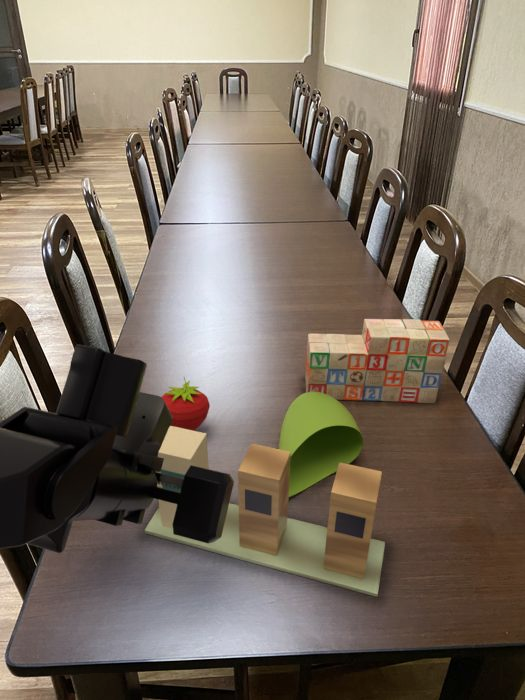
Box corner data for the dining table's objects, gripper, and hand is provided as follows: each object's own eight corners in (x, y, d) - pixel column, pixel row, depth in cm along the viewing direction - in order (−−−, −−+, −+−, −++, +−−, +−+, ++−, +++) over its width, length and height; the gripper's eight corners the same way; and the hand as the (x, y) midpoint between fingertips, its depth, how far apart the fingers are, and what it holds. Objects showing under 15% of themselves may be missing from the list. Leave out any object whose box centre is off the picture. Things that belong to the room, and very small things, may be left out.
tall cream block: (196, 535, 64) (190, 460, 58) (161, 525, 65) (151, 451, 59) (210, 506, 68) (206, 433, 62) (177, 498, 69) (170, 425, 63)
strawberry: (163, 422, 83) (157, 368, 78) (212, 422, 84) (209, 368, 78) (158, 448, 78) (151, 392, 73) (210, 447, 78) (207, 391, 73)
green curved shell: (372, 448, 65) (341, 368, 83) (272, 466, 65) (263, 383, 83) (378, 497, 68) (347, 410, 86) (283, 514, 69) (272, 424, 87)
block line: (377, 597, 58) (392, 516, 52) (144, 533, 65) (132, 455, 59) (384, 545, 64) (399, 466, 57) (170, 491, 71) (162, 416, 65)
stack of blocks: (306, 400, 89) (310, 335, 82) (304, 378, 94) (308, 316, 88) (436, 403, 88) (450, 338, 82) (427, 381, 94) (440, 319, 87)
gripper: (224, 409, 43) (263, 432, 58) (28, 369, 48) (110, 400, 63) (189, 551, 41) (239, 538, 56) (-13, 495, 45) (82, 496, 60)
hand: (165, 488), depth 59 cm, fingers open, 9 cm apart
